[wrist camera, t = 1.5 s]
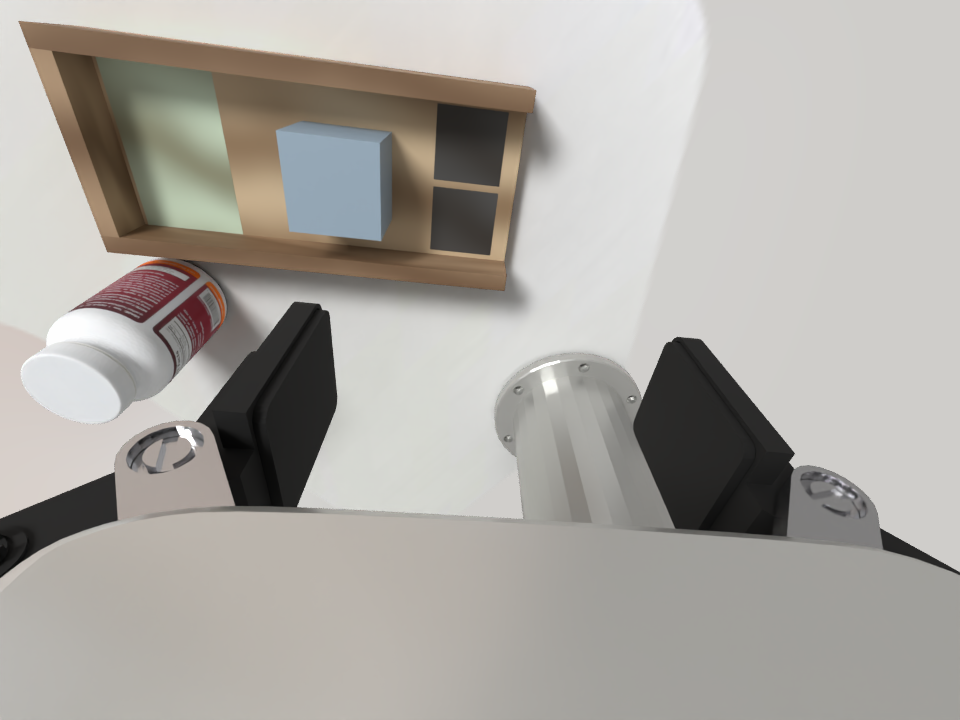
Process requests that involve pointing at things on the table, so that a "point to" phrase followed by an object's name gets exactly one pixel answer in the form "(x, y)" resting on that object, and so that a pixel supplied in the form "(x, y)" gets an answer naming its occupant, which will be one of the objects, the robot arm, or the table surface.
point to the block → (336, 179)
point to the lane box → (255, 157)
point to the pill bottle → (125, 341)
